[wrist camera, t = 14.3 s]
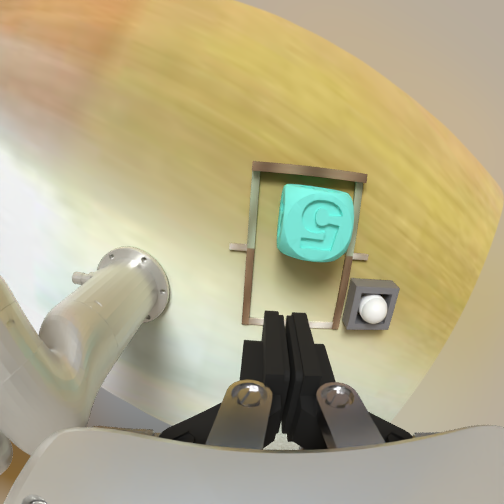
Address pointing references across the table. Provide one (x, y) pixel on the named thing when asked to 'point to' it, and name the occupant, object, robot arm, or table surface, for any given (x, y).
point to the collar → (353, 300)
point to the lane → (250, 245)
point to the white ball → (372, 308)
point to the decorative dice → (314, 223)
